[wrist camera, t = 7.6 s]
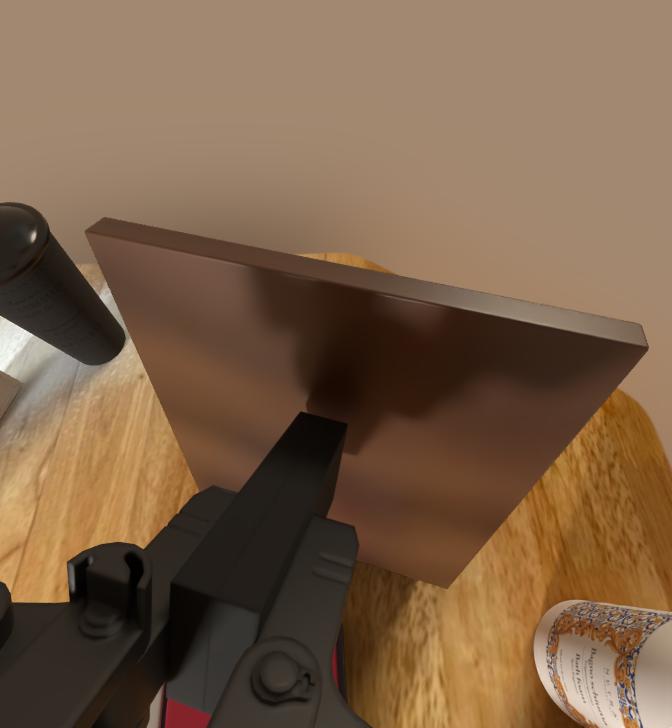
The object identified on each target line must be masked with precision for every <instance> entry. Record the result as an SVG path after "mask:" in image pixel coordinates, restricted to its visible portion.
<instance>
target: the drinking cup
mask: <svg viewBox="0 0 672 728" xmlns="http://www.w3.org/2000/svg"><path fill="white" fill-rule="evenodd" d="M0 316H2V317H4V318H6V319H7V320H9V321H11V322H12V323H14V324H16V325H18V326H19V327H21V328H23V329H25V330H26V331H28V332H30V333H32V334H33V335H35V336H37V337H39V338H40V339H42V340H44V341H45V342H47V343H49V344H51V345H52V346H54V347H56V348H58V349H59V350H61V351H63V352H65V353H66V354H68V355H70V356H72V357H73V358H75V359H77V360H78V361H80V362H82V363H84V364H87V365H100V364H104V363H106V362H108V361H110V360H112V359H113V358H114V357H116V356H117V355H118V354H119V352H120V351H121V350H122V348H123V346H124V343H125V333H124V330H123V329H122V327H121V326H120V324H119V323H118V322H117V320H116V319H115V318H114V316H113V315H112V314H111V312H110V311H109V310H108V308H107V307H106V306H105V304H104V303H103V302H102V300H101V299H100V298H99V296H98V295H97V294H96V292H95V291H94V290H93V288H92V287H91V286H90V284H89V283H88V282H87V280H86V279H85V278H84V276H83V275H82V274H81V272H80V271H79V270H78V268H77V267H76V266H75V264H74V263H73V262H72V260H71V259H70V258H69V256H68V255H67V254H66V252H65V251H64V250H63V248H62V247H61V246H60V244H59V243H58V242H57V240H56V239H55V238H54V236H53V235H52V234H51V232H50V229H49V226H48V223H47V221H46V219H45V218H44V217H43V215H42V214H41V213H40V212H39V211H37V210H36V209H34V208H33V207H31V206H28V205H25V204H22V203H15V202H14V203H13V202H5V203H0Z"/></svg>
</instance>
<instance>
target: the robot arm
mask: <svg viewBox="0 0 672 728" xmlns="http://www.w3.org/2000/svg"><path fill="white" fill-rule="evenodd" d="M347 427H348V423H344V422H340V421H336V420H332V419H328V418H325V417H321V416H317V415H313V414H309V413H305V412H301V411H300V412H299V414H298V415H297V416H296V418H295V419H294V420H293V422H292V423H291V424H290V426H289V427H288V428H287V430H286V431H285V432H284V433H283V435H282V436H281V437H280V439H279V440H278V441H277V443H276V444H275V445H274V447H273V448H272V449H271V451H270V452H269V453H268V454H267V456H266V457H265V458H264V460H263V461H262V462H261V464H260V465H259V466H258V468H257V469H256V470H255V471H254V473H253V474H252V475H251V477H250V478H249V479H248V481H247V482H246V483H245V485H244V486H243V487H242V489H241V490H240V491H239V492H234V491H231V490H228V489H224V488H221V487H218V486H214V485H213V486H211V487H209V488H207V489H205V490H203V491H201V492H199V493H197V494H196V495H194V496H193V497H192V498H191V499H190V500H189V501H188V502H187V503H186V504H185V505H184V507H183V508H182V509H181V510H180V512H179V514H176V515H175V516H174V517H173V518H172V520H171V521H170V522H169V523H168V525H167V527H166V526H165V527H164V528H163V529H162V530H161V531H160V532H159V534H158V535H157V536H156V537H155V538H154V539H153V540H152V541H151V542H150V543H149V544H148V545H147V547H146V548H145V549H142V548H140V547H139V546H137V545H135V544H129V543H123V542H114V543H107V544H100V545H98V546H95V547H92V548H90V549H87V550H84V551H82V552H81V553H79V554H78V555H76V556H75V557H74V558H72V559H71V560H69V561H68V562H67V571H68V584H69V597H70V602H62V603H14V602H12V600H11V593H10V592H9V590H8V588H7V586H6V584H5V583H3V582H0V728H147V725H148V723H149V720H150V705H151V703H152V702H153V700H154V698H155V697H156V695H157V694H158V692H159V690H160V689H161V687H162V685H163V684H164V682H165V680H166V679H167V687H166V698H169V699H171V700H174V701H176V702H179V703H181V704H184V705H186V706H189V707H191V708H193V709H196V710H198V711H201V712H203V713H206V714H208V715H211V718H210V720H209V723H208V725H207V727H206V728H372V727H371V726H370V725H369V724H367V723H366V722H365V721H364V720H363V719H361V718H360V717H359V716H358V715H357V714H356V713H355V712H354V711H353V710H352V709H351V708H350V707H349V706H348V705H347V703H346V702H345V700H344V699H343V697H342V695H341V694H340V692H339V690H338V687H337V685H336V682H335V679H334V675H333V667H332V659H333V654H334V650H335V646H336V642H337V637H338V633H339V629H340V625H341V621H342V617H343V613H344V609H345V605H346V601H347V597H348V593H349V588H350V584H351V580H352V575H353V571H354V567H355V562H356V558H357V554H358V549H359V541H358V537H357V533H356V529H355V526H353V525H349V524H346V523H343V522H339V521H336V520H333V519H329V518H326V517H327V514H328V512H329V509H330V507H331V504H332V501H333V499H334V494H335V489H336V484H337V478H338V473H339V468H340V463H341V458H342V453H343V448H344V443H345V437H346V432H347Z"/></svg>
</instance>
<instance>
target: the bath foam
mask: <svg viewBox="0 0 672 728" xmlns="http://www.w3.org/2000/svg"><path fill="white" fill-rule="evenodd" d="M534 657H535V663H536V667H537V671H538V674H539V676H540V679H541V681H542V683H543V685H544V687H545V689H546V691H547V692H548V694H549V695H550V697H551V698H552V700H553V701H554V702H555V703H556V704H557V706H558V707H559V708H560V709H561V710H562V711H563V712H564V713H566V714H567V715H568V716H569V717H570V718H572V719H573V720H574V721H576V722H577V723H579V724H580V725H581V726H583V727H584V728H672V612H668V611H661V610H653V609H646V608H639V607H632V606H624V605H617V604H610V603H603V602H595V601H586V600H568V601H564V602H561V603H558V604H556V605H555V606H553V607H552V608H550V609H549V610H548V611H547V612H546V613H545V614H544V616H543V617H542V618H541V620H540V622H539V624H538V626H537V629H536V633H535V638H534Z"/></svg>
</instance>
